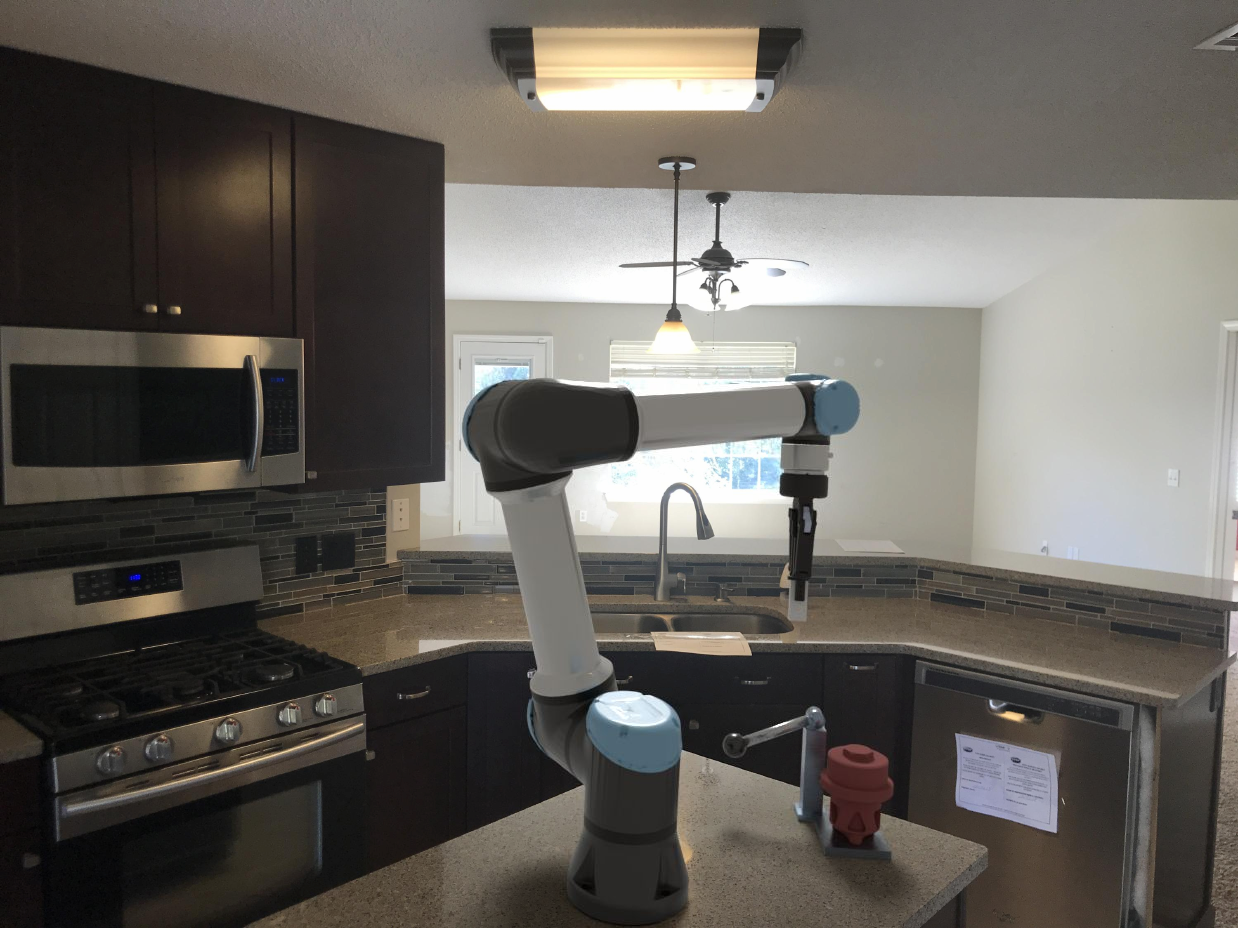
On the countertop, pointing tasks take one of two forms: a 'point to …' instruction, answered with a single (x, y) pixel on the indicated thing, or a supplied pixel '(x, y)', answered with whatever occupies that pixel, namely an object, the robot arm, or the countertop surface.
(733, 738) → the lever
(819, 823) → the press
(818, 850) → the countertop surface
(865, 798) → the mechanical component
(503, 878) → the countertop surface
